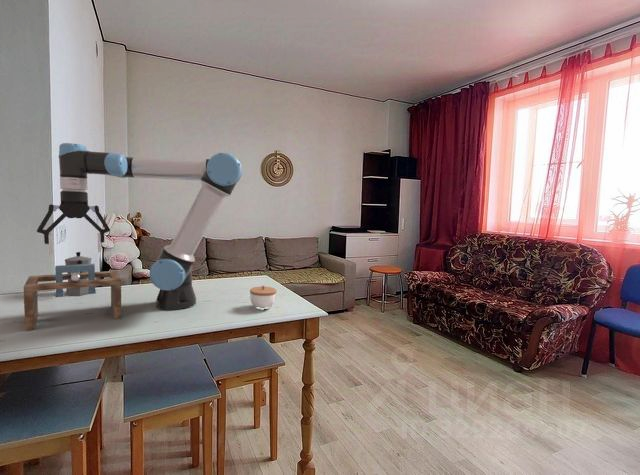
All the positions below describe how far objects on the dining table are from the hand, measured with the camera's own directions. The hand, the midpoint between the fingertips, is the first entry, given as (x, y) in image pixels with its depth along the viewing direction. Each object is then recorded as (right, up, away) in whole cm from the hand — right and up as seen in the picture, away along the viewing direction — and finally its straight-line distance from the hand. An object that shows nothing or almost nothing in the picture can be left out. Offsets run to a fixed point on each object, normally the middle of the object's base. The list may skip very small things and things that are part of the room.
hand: (76, 252), depth 118 cm
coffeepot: (-19, -19, +29) cm, 40 cm away
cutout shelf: (-2, -23, +2) cm, 23 cm away
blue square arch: (-1, -14, +1) cm, 14 cm away
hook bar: (-1, -9, +1) cm, 9 cm away
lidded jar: (+60, -24, +24) cm, 69 cm away
